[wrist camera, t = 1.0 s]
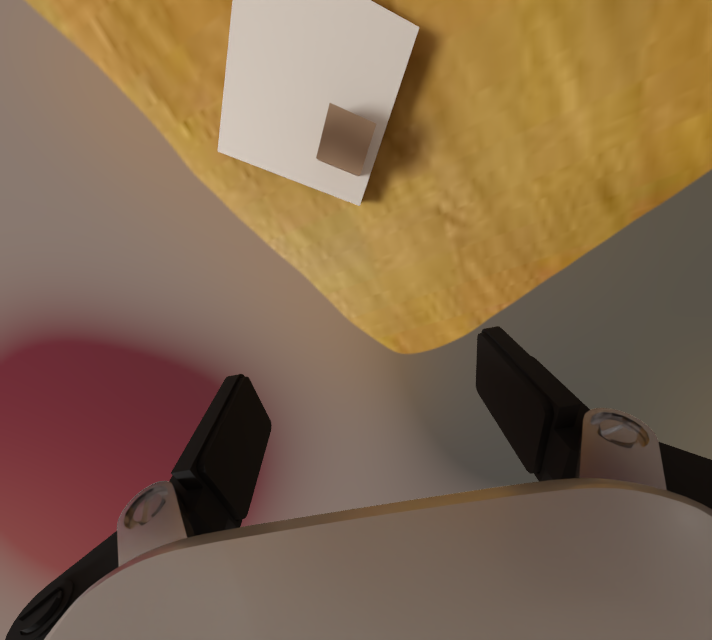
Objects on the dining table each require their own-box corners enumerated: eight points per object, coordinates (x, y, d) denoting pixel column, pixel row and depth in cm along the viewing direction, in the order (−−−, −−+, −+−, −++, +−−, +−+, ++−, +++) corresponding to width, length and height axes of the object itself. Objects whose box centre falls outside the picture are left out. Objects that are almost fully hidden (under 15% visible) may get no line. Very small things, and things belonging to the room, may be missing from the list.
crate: (331, 113, 27) (329, 102, 23) (371, 131, 28) (376, 123, 24) (319, 160, 29) (315, 158, 25) (357, 176, 30) (359, 176, 26)
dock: (251, -45, 24) (239, -73, 21) (411, 42, 27) (419, 27, 24) (228, 153, 31) (217, 151, 28) (358, 203, 34) (359, 205, 31)
